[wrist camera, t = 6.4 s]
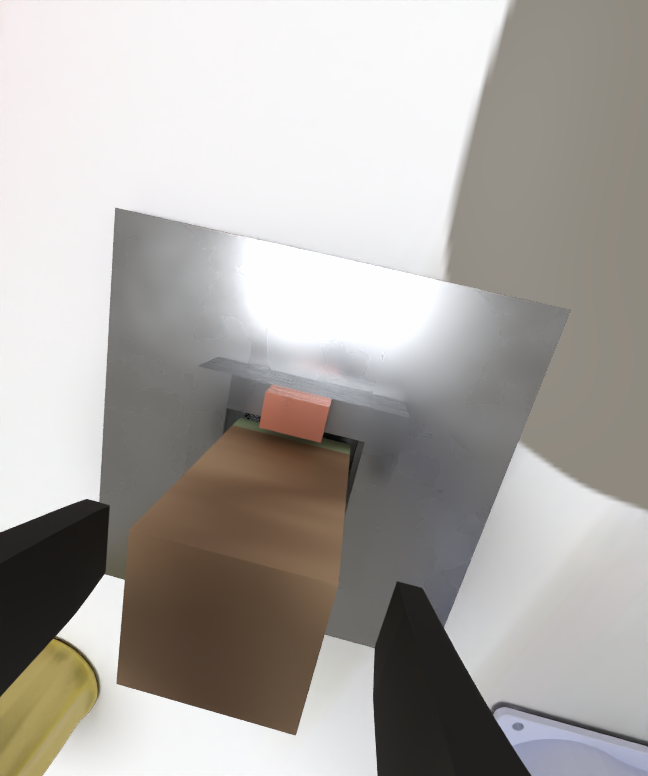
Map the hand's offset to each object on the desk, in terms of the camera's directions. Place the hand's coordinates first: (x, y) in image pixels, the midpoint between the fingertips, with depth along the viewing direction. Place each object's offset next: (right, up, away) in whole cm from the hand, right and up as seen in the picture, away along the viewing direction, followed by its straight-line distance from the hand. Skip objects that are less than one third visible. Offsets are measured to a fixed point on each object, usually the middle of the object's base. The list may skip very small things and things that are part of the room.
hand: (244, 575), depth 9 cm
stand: (+1, +2, +7) cm, 7 cm away
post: (+1, +1, +5) cm, 5 cm away
